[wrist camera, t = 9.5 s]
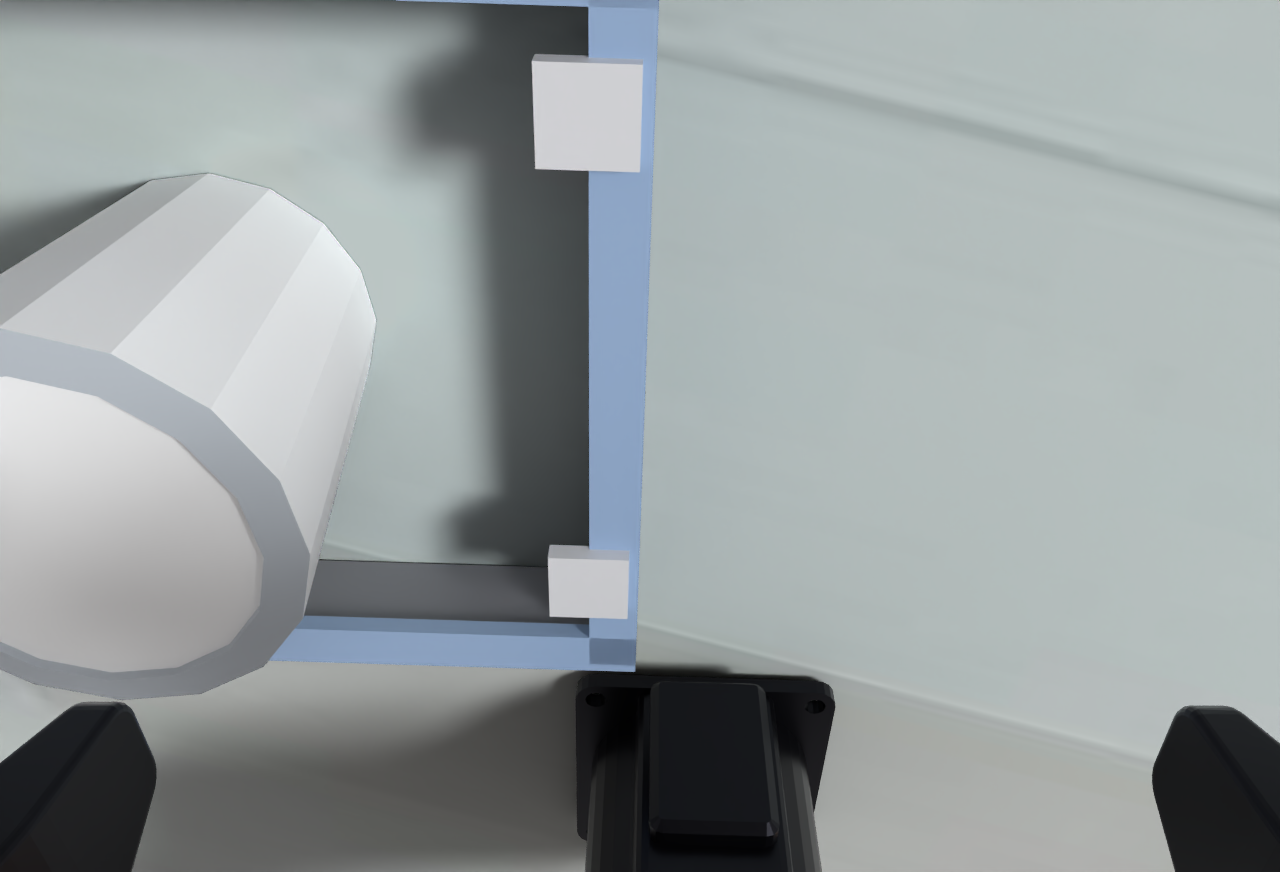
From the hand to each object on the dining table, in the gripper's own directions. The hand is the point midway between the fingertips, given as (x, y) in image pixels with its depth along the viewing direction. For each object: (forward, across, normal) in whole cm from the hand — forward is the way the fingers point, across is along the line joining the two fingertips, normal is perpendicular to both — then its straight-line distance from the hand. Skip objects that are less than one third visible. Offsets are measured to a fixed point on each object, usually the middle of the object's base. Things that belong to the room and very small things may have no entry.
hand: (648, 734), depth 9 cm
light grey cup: (+12, +8, +2) cm, 15 cm away
